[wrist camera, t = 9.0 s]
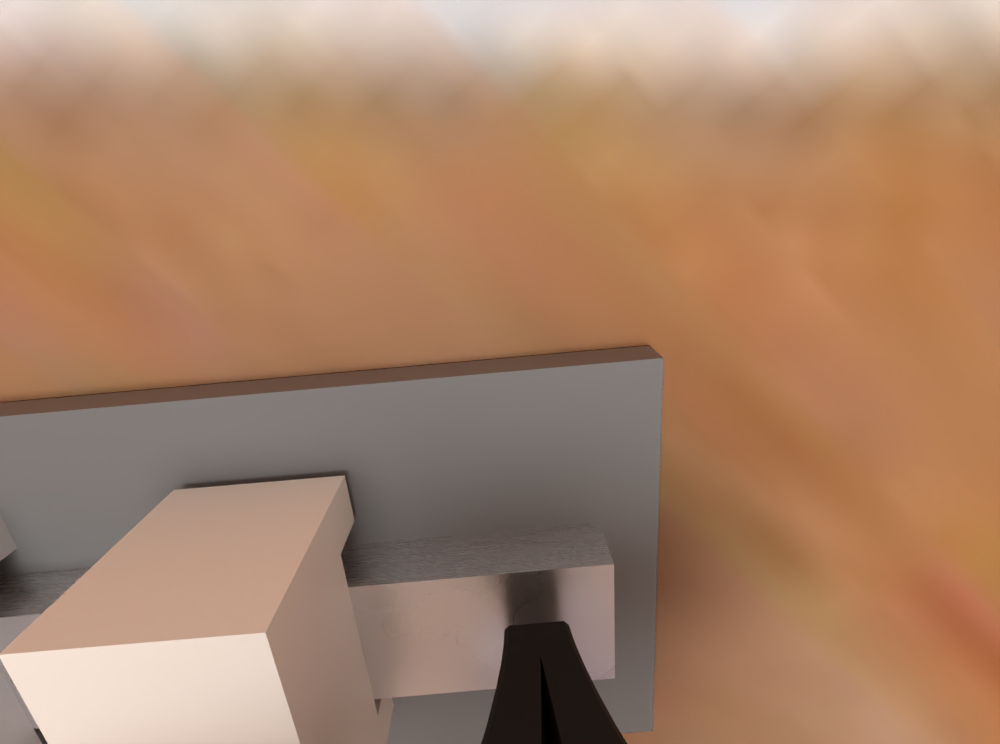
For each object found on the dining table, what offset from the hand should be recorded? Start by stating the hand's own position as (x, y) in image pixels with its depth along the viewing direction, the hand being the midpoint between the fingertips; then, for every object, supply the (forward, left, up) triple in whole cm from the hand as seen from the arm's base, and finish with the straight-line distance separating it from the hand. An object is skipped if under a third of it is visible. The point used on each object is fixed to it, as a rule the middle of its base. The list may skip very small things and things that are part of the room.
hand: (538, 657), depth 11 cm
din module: (0, +6, -2) cm, 6 cm away
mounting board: (0, +8, -3) cm, 8 cm away
